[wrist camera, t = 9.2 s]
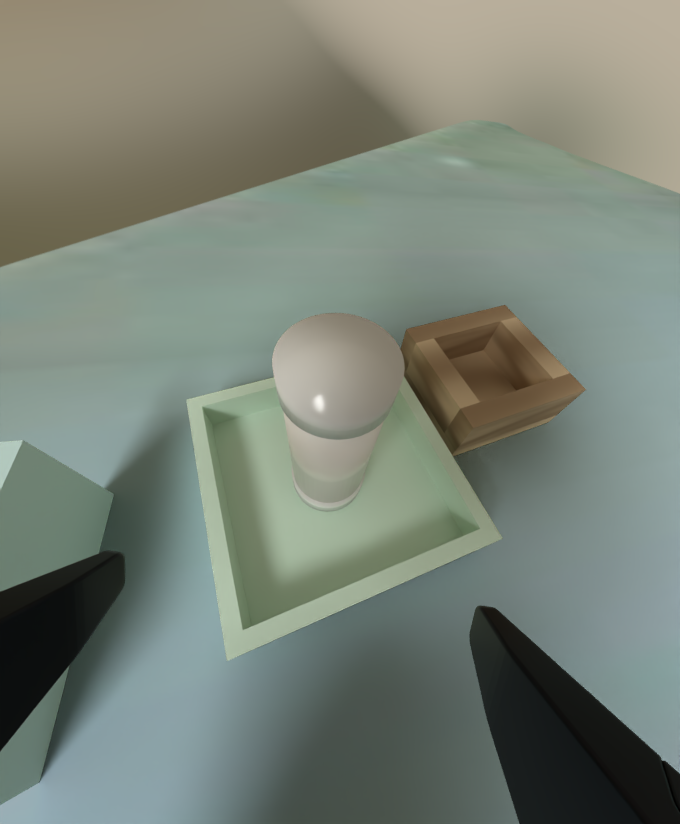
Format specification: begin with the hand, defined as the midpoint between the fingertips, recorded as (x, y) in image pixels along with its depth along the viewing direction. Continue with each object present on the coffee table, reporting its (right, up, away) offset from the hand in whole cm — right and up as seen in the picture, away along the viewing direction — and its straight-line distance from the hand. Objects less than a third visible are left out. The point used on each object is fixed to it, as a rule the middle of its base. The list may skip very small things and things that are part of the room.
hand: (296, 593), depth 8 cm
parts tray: (0, 0, +12) cm, 12 cm away
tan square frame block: (+11, +6, +17) cm, 21 cm away
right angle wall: (-18, -6, +8) cm, 21 cm away
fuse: (0, +1, +12) cm, 12 cm away
